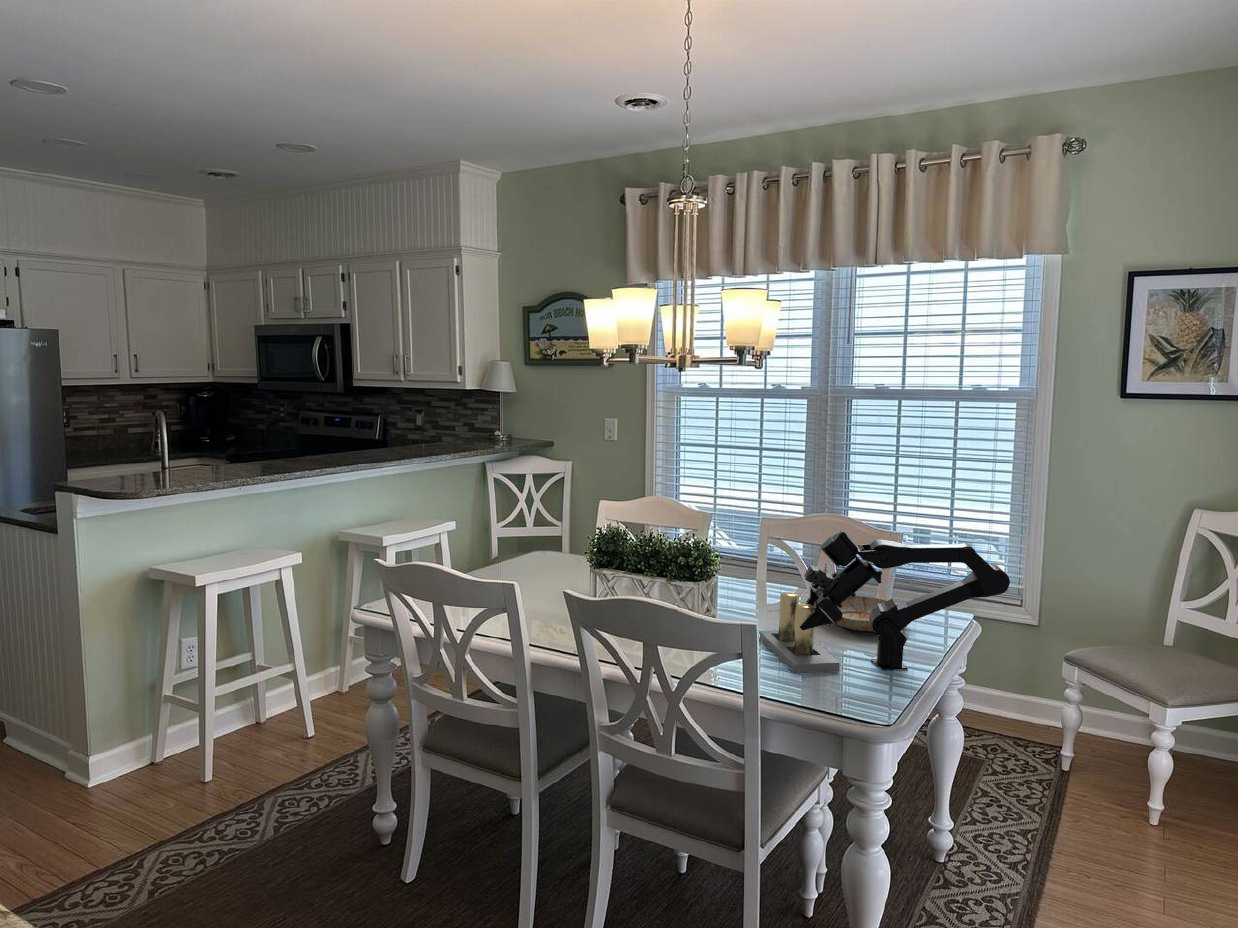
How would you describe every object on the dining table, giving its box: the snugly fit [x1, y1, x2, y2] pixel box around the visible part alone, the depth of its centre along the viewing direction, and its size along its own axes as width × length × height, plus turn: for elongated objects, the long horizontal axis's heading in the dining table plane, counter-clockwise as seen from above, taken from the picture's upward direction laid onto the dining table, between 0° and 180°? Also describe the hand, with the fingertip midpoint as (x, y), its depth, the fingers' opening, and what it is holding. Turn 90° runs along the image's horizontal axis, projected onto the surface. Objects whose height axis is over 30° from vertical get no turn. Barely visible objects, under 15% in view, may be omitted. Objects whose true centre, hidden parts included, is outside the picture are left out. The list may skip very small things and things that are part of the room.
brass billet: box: [794, 603, 815, 656], centre depth 204 cm, size 4×4×13 cm
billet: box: [778, 591, 800, 642], centre depth 214 cm, size 4×4×13 cm
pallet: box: [758, 629, 841, 674], centre depth 208 cm, size 24×11×2 cm, turn 10°
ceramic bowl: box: [833, 595, 888, 632], centre depth 233 cm, size 23×24×5 cm
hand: (799, 622), depth 204 cm, fingers open, 9 cm apart
